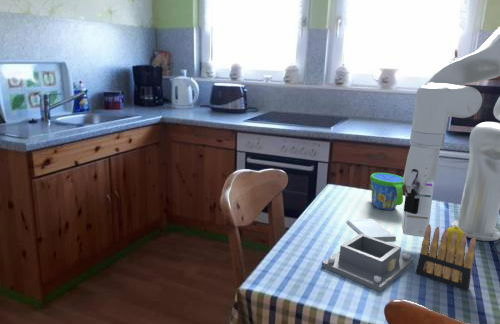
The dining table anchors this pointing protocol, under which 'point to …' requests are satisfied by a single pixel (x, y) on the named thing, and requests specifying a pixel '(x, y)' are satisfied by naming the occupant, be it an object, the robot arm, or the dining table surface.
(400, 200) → the snack cup
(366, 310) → the dining table surface
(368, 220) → the hard drive
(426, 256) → the ammunition clip
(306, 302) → the dining table surface
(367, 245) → the frame
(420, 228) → the syrup box
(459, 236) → the lemon
